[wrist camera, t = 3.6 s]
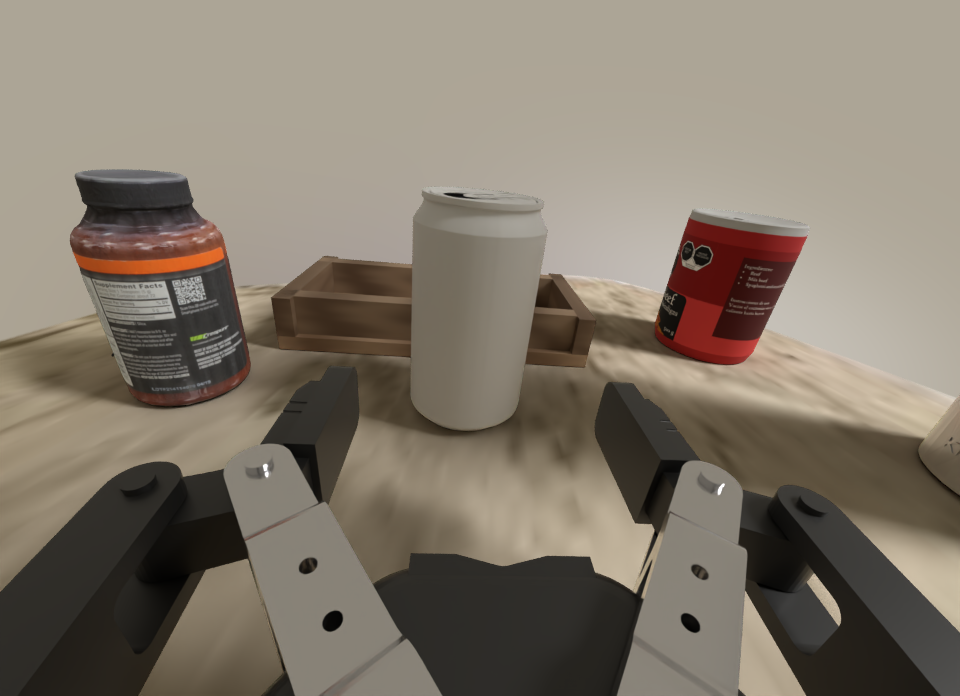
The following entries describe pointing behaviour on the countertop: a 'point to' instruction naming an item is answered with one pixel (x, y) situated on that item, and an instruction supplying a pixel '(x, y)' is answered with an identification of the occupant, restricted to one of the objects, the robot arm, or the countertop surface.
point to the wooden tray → (408, 313)
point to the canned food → (726, 283)
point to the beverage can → (473, 303)
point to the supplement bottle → (160, 286)
